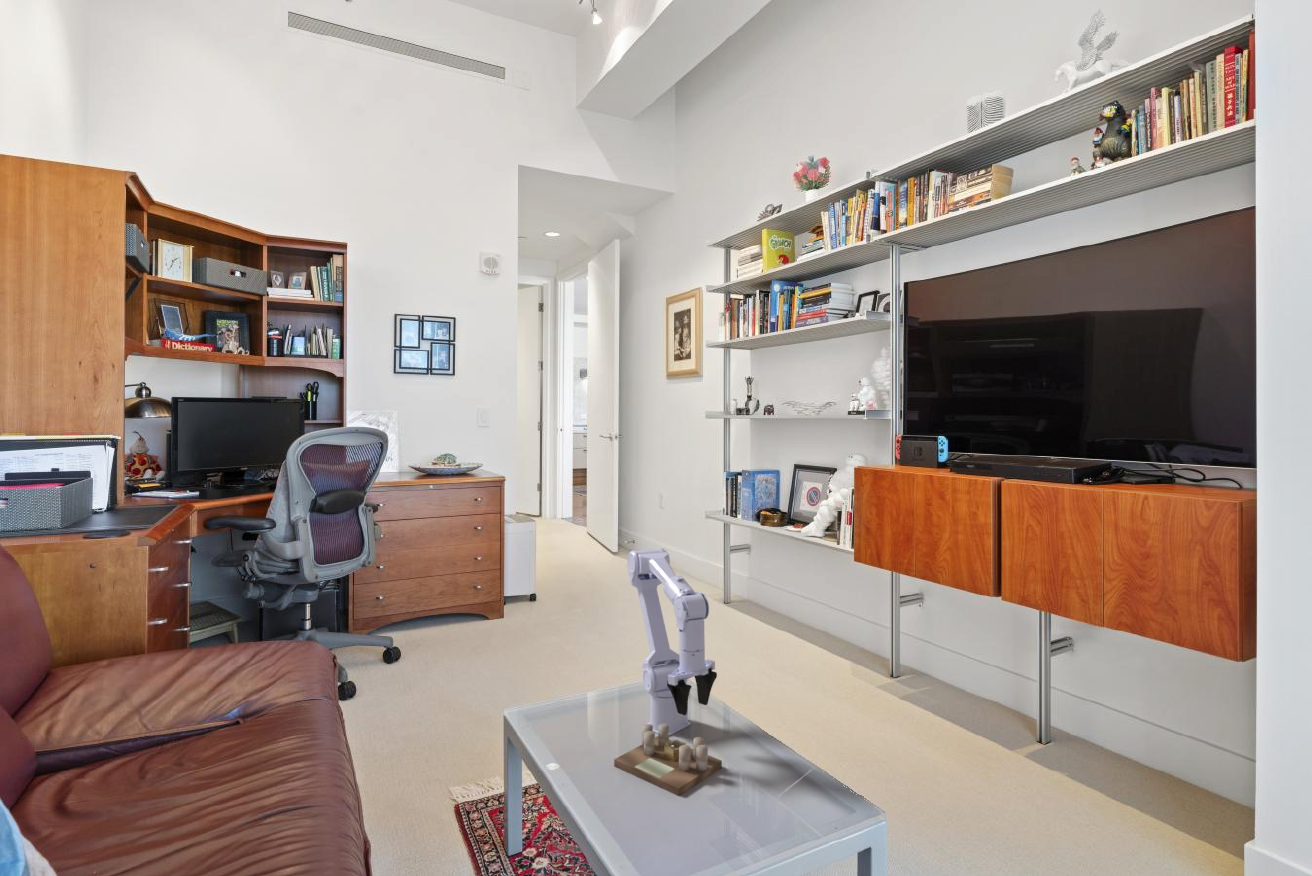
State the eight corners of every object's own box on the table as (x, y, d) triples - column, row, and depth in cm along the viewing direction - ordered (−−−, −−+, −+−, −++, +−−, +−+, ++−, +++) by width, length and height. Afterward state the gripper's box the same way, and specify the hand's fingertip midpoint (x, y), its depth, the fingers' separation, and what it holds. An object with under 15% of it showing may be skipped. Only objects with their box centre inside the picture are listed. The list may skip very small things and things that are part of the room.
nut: (672, 748, 157) (672, 737, 157) (690, 755, 154) (690, 744, 154) (659, 755, 154) (660, 744, 154) (677, 763, 151) (678, 752, 151)
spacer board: (658, 741, 164) (658, 716, 163) (721, 767, 152) (721, 740, 152) (614, 766, 152) (614, 739, 152) (678, 795, 141) (678, 766, 140)
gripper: (685, 659, 149) (686, 723, 149) (725, 644, 160) (726, 703, 160) (660, 653, 154) (661, 715, 154) (701, 639, 165) (701, 696, 165)
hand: (692, 708), depth 157 cm, fingers open, 7 cm apart
